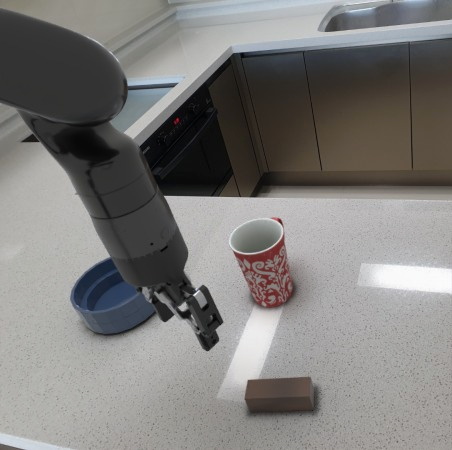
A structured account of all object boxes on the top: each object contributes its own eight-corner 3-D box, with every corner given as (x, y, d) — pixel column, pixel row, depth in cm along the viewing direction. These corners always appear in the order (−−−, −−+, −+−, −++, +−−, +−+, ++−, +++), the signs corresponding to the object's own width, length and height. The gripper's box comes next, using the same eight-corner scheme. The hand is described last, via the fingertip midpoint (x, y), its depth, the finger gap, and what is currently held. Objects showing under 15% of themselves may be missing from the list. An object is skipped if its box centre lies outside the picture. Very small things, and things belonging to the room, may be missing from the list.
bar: (250, 412, 64) (244, 399, 62) (253, 392, 67) (247, 379, 65) (313, 410, 63) (309, 396, 61) (314, 390, 65) (310, 376, 63)
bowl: (116, 348, 78) (101, 326, 74) (70, 316, 86) (54, 294, 83) (182, 290, 87) (171, 267, 83) (134, 265, 95) (122, 243, 91)
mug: (286, 316, 77) (269, 257, 69) (239, 307, 81) (218, 249, 72) (312, 265, 86) (300, 207, 78) (269, 258, 89) (253, 202, 81)
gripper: (76, 233, 50) (134, 327, 60) (151, 278, 42) (204, 379, 52) (132, 196, 54) (178, 291, 64) (210, 231, 46) (249, 333, 56)
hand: (189, 330), depth 58 cm, fingers open, 8 cm apart
